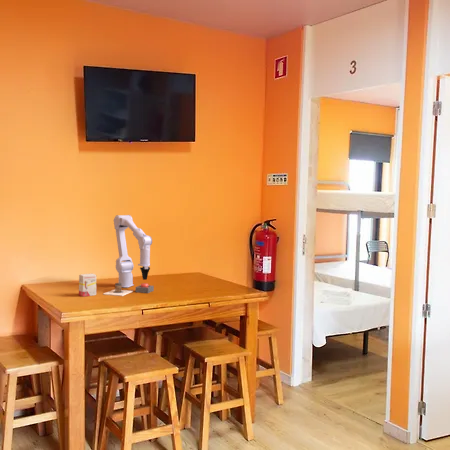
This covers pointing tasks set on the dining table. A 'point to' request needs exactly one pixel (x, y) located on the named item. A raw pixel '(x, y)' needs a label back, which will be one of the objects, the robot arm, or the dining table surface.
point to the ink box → (87, 285)
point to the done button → (144, 285)
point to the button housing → (144, 289)
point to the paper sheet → (122, 293)
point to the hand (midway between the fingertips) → (144, 279)
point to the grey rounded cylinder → (118, 287)
